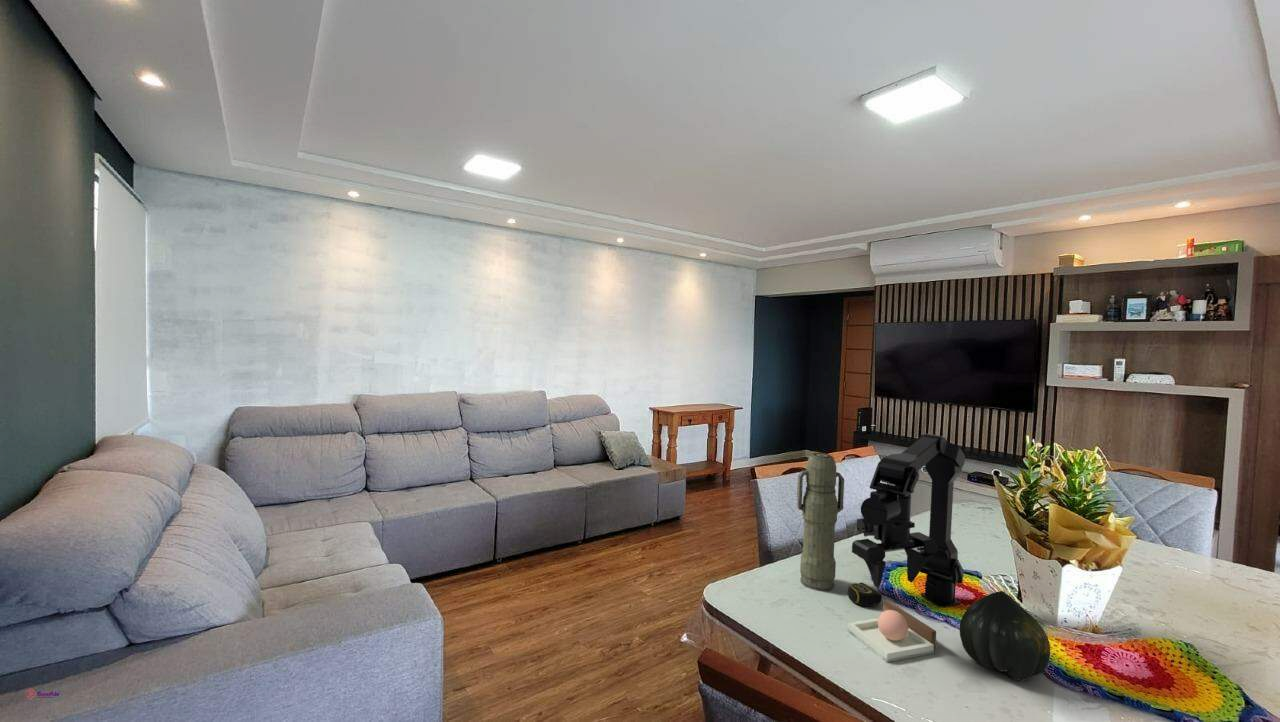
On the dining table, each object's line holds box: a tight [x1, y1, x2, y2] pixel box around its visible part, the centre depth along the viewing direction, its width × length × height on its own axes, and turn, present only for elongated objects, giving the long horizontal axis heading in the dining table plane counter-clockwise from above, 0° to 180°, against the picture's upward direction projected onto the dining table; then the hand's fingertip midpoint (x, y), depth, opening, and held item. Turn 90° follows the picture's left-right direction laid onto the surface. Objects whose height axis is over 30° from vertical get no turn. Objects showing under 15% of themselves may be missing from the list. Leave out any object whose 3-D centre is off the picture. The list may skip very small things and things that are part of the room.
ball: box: [877, 610, 908, 641], centre depth 114 cm, size 6×6×6 cm
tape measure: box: [847, 581, 883, 607], centre depth 132 cm, size 7×7×4 cm
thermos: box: [796, 452, 845, 592], centre depth 141 cm, size 9×12×35 cm
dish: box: [846, 617, 935, 663], centre depth 114 cm, size 12×12×2 cm
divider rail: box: [882, 599, 937, 651], centre depth 118 cm, size 1×14×4 cm, turn 17°
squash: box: [959, 590, 1051, 681], centre depth 106 cm, size 14×15×15 cm
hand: (893, 584), depth 116 cm, fingers open, 9 cm apart
